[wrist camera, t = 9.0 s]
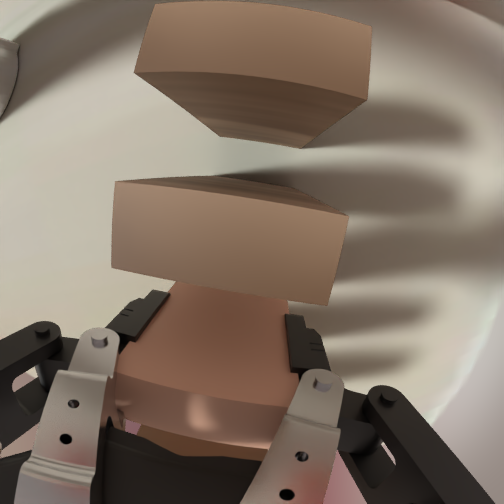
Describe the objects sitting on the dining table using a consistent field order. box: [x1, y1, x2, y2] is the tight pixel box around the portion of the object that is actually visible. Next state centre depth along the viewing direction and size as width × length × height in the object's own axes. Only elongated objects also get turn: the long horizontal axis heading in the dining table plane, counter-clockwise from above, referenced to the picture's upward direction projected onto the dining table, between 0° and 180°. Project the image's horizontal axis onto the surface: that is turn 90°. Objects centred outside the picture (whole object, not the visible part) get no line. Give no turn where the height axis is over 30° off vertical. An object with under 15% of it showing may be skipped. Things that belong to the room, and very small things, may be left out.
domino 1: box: [134, 1, 372, 149], centre depth 10 cm, size 2×5×12 cm, turn 81°
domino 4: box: [137, 424, 268, 462], centre depth 14 cm, size 2×5×12 cm, turn 81°
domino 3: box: [115, 281, 299, 449], centre depth 12 cm, size 2×5×12 cm, turn 81°
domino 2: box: [111, 176, 349, 306], centre depth 12 cm, size 2×5×12 cm, turn 81°
